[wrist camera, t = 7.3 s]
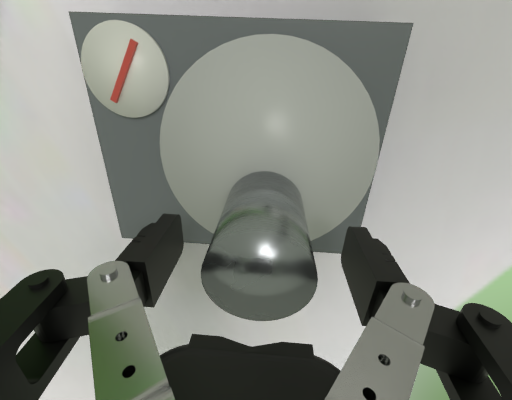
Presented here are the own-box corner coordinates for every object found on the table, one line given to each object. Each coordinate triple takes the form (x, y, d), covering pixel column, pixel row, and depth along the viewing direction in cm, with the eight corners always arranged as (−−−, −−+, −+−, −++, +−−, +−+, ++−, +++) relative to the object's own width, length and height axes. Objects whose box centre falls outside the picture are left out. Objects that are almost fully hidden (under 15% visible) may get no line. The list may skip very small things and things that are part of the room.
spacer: (307, 173, 14) (326, 236, 9) (298, 240, 16) (309, 325, 11) (226, 168, 14) (197, 228, 9) (227, 235, 16) (204, 316, 11)
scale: (387, 31, 14) (424, 18, 11) (343, 229, 20) (357, 264, 17) (105, 22, 15) (52, 7, 11) (141, 216, 21) (114, 246, 17)
